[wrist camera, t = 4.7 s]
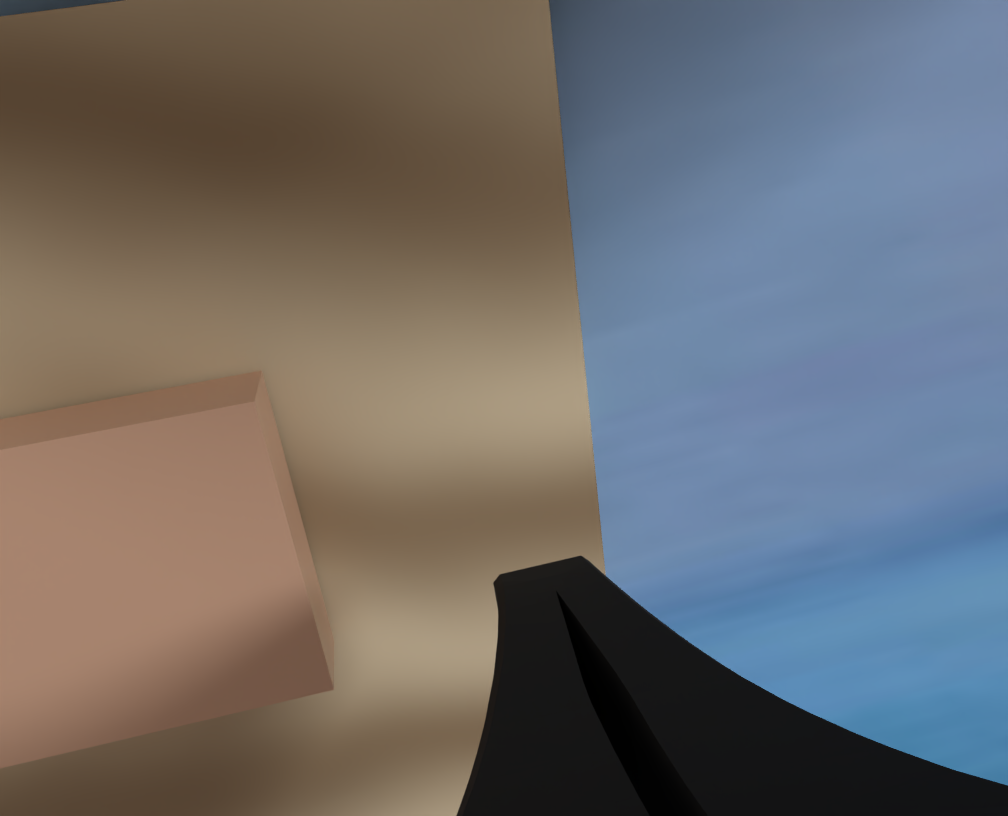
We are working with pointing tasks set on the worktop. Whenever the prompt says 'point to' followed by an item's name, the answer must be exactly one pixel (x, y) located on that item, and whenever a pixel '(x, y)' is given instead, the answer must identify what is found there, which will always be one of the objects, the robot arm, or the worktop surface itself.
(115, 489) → the tile
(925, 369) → the worktop surface
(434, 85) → the wooden board
